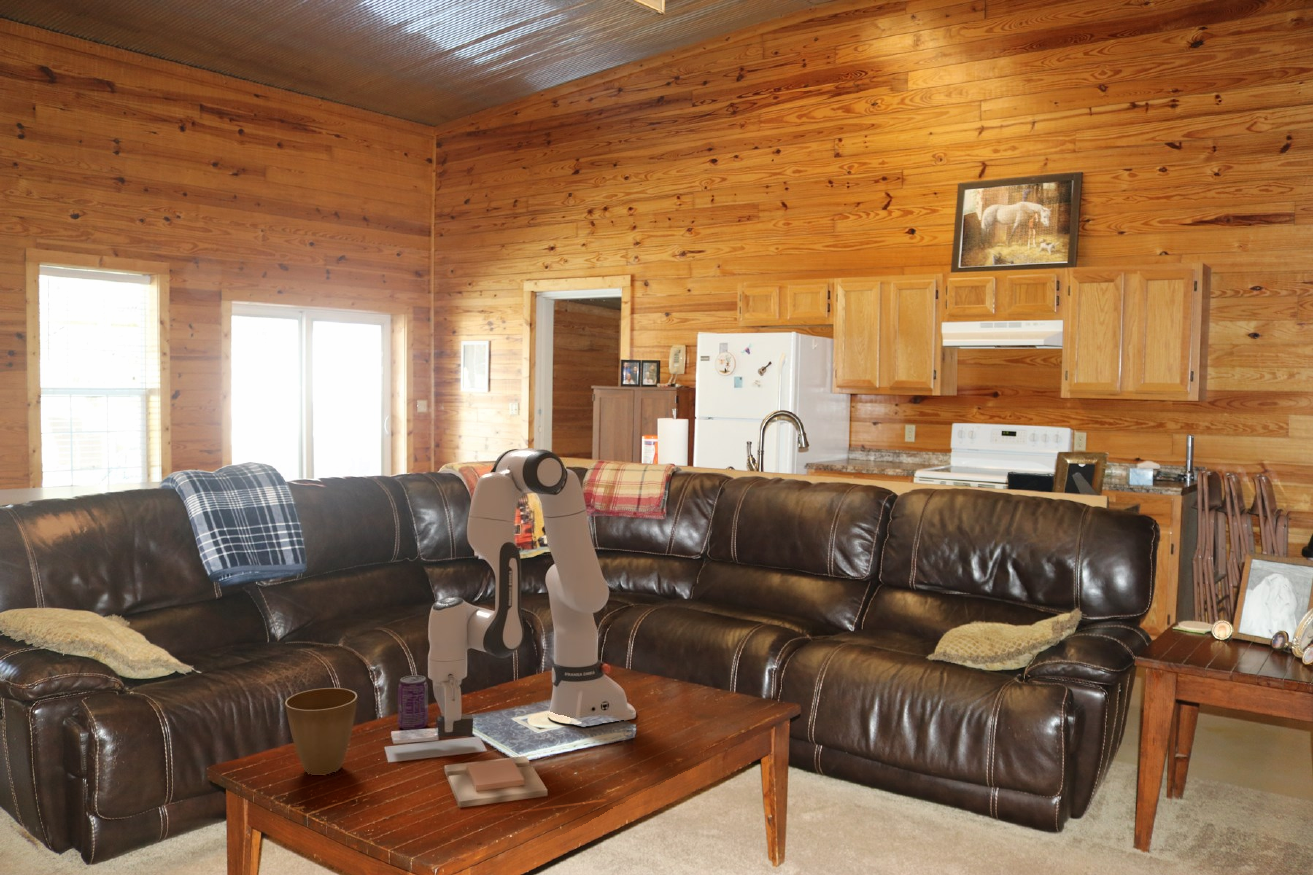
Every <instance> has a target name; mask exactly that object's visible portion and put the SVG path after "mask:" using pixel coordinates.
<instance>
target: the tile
mask: <svg viewBox="0 0 1313 875" xmlns="http://www.w3.org/2000/svg"><path fill="white" fill-rule="evenodd" d="M466 770H467V773H468V775H469V777H470V779H471V781H472V783H473V786H474V788H475V790H476V791H482V790H490V789H497V788H505V787H513V786H521V785H524V778H523V776H522V775H521V773H520V771H519V769H518V768H517V766H516V764H515V763H514V761H513V759H508V760H499V761H491V762H483V763H474V764H466Z"/></svg>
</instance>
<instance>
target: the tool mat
mask: <svg viewBox="0 0 1313 875" xmlns="http://www.w3.org/2000/svg"><path fill="white" fill-rule="evenodd" d="M384 752H385V755H386V756H385V757H386V759H387V763H388V764H389V763H394V762H396V763H397V762H402V761H413V760H422V759H423V760H424V759H428V758H430V759H431V758H438V757H448V756H456V755H464V754H473V753H481V752H482V753H483V752H488V750H487V748H486V746H485V743H484V742H483V741H482V739H481V737H480V736H471V737H461V738H455V739H454V738H452V739H451V738H450V739H444V740H435V741H423V742H414V743H409V744H408V743H405V744H398V745H397V744H396V745H389V746H384ZM389 765H390V764H389Z"/></svg>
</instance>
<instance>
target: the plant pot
mask: <svg viewBox="0 0 1313 875" xmlns="http://www.w3.org/2000/svg"><path fill="white" fill-rule="evenodd" d="M357 701H358V694H357V692H356V691H353V690H352V689H347V688H343V687H342V688H341V687H325V688H317V689H316V688H315V689H310V690H305V691H301V692H298V693H295V694H293V695H290V697H288V698H286V700H285V702H284V703H285V704H284V705H285V710H286V714H287V720H288V721H287V722H288V724H289V730H290V733H291V737H292V740H293V743H294V746H295V749H296V752H297V755H298V758H299V760H300V763H301V766H302V767H303V769H304V771H305V773H306V772H307V773H309V774H317V775H318V774H329V775H331V774H330V773H332V772H335V773H337V772H338V770H339V769H340V770H341V768H342V766H343V763H344V760H345V758H346V757H345V756H346V755H347V751H348V747H349V744H350V739H351V736H352V732H353V728H354V727H353V726H354V722H355V716H356V709H357ZM336 771H337V772H336ZM307 773H306V774H307ZM309 774H308V775H309ZM332 774H333V773H332Z"/></svg>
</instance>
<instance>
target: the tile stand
mask: <svg viewBox="0 0 1313 875" xmlns="http://www.w3.org/2000/svg"><path fill="white" fill-rule="evenodd" d="M508 759H513V761H514V763H515V764H516V766H517V768H518V769H519V771H520V773H521V775H522V776H523V778H524V785H521V786H513V787H505V788H497V789H490V790H482V791H476V790H475V788H474V786H473V783H472V781H471V779H470V777H469V775H468V773H467V770H466V764H474V763H483V762H491V761H499V760H508ZM530 764H531V763H530V760H529V758H528V757H527V755H522V756H513V757H505V758H498V759H496V758H495V759H488V760H480V761H479V760H478V761H471V762H464V763H463V762H462V763H454V764H453V763H452V764H446V765H444V774H445V775H446V779H447V781H448V783H449V786H450V789H451V791H452V793H453V796H454V798H455V800H456V803H457V805H458V807H459V808H466V807H473V806H482V805H487V804H489V805H490V804H497V803H505V802H510V801H511V802H512V801H519V800H525V799H527V800H528V799H533V798H535V799H536V798H542V797H548V788H547V787H546V786H545V784H544V782H543V781H542V779H541V778H540V776H539V774H538V773H537V771H536V770H535V768H534V766H533V765H530Z"/></svg>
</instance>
